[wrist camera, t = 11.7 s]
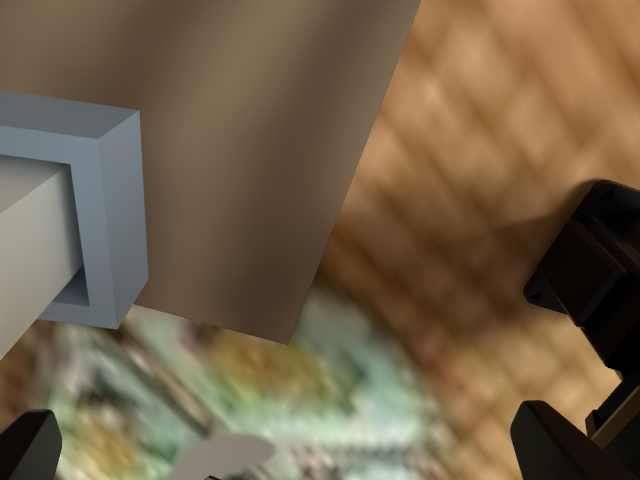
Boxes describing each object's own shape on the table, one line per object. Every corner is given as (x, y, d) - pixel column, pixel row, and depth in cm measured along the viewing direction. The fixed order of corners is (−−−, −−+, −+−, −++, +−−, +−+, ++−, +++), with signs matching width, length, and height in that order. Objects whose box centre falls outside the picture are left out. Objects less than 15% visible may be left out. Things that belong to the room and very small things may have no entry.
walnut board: (493, -200, 14) (501, -209, 13) (289, 334, 25) (288, 345, 24) (-117, -470, 12) (-145, -497, 11) (-51, 242, 22) (-64, 251, 22)
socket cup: (139, 110, 18) (97, 139, 15) (148, 278, 22) (117, 329, 19) (-73, 79, 18) (-159, 102, 15) (-25, 255, 22) (-85, 303, 19)
